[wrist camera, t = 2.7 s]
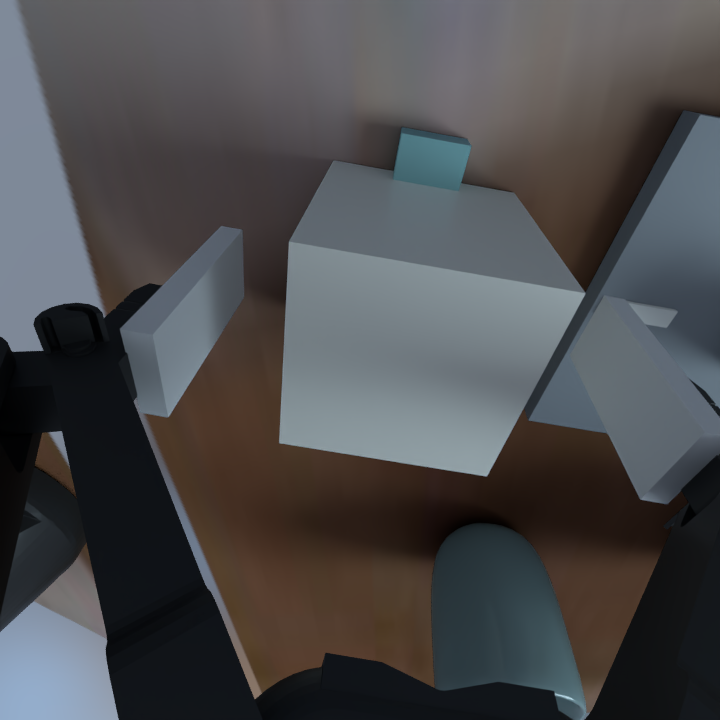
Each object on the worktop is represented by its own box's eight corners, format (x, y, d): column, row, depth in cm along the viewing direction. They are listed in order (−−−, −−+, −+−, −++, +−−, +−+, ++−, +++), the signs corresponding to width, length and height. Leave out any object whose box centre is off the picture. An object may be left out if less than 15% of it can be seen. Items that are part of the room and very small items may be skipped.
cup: (561, 524, 29) (621, 708, 21) (503, 574, 34) (534, 740, 26) (456, 495, 28) (478, 677, 20) (411, 551, 33) (414, 717, 25)
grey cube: (314, 341, 21) (277, 471, 15) (338, 115, 15) (292, 173, 9) (452, 364, 21) (473, 502, 15) (529, 150, 15) (619, 231, 9)
